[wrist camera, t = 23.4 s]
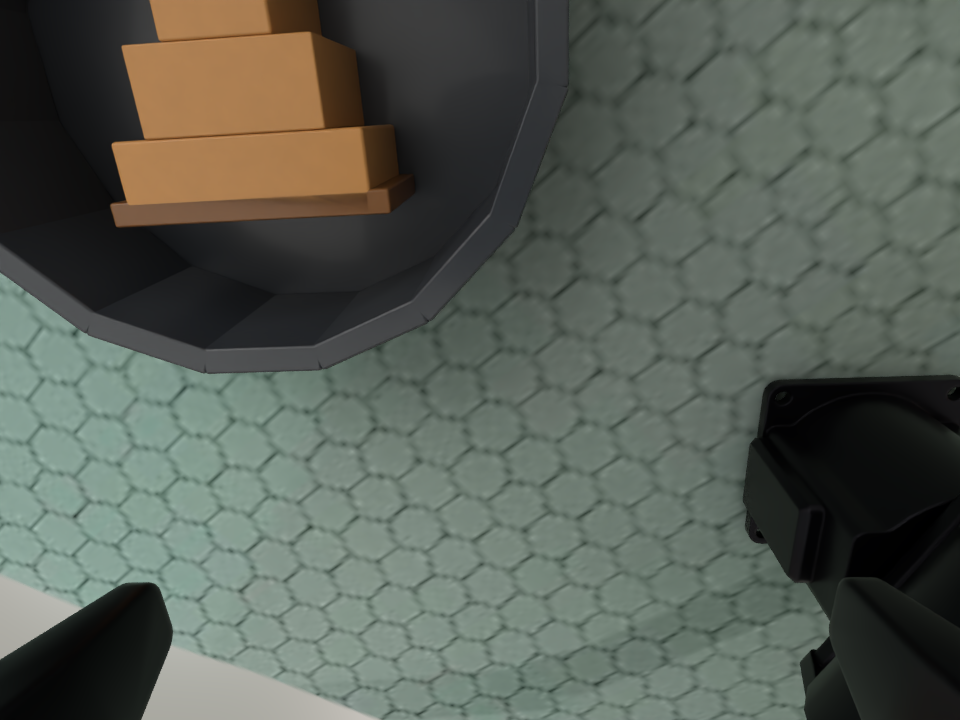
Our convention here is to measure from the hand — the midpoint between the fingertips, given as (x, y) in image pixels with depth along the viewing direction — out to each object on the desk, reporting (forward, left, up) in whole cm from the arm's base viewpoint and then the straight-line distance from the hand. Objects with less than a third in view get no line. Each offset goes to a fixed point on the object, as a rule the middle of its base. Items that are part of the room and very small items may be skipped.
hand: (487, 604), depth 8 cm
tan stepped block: (+6, -8, -12) cm, 16 cm away
